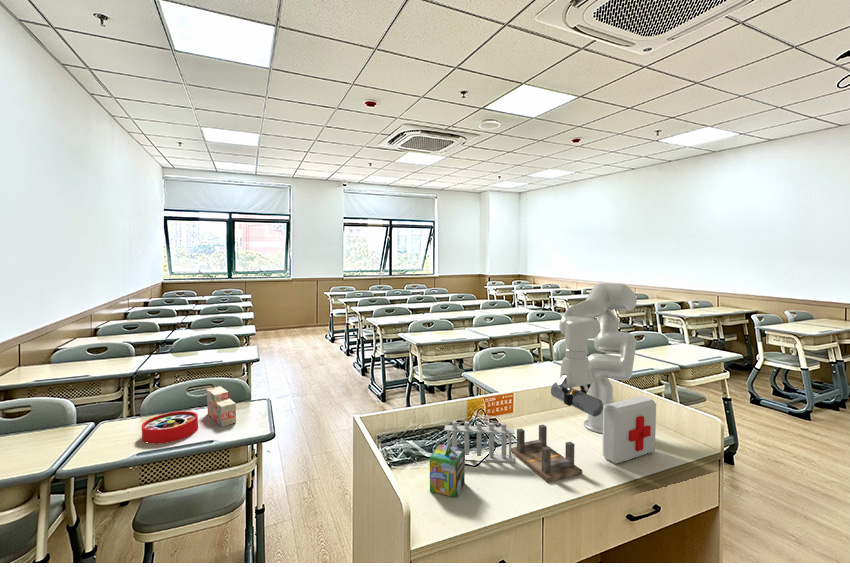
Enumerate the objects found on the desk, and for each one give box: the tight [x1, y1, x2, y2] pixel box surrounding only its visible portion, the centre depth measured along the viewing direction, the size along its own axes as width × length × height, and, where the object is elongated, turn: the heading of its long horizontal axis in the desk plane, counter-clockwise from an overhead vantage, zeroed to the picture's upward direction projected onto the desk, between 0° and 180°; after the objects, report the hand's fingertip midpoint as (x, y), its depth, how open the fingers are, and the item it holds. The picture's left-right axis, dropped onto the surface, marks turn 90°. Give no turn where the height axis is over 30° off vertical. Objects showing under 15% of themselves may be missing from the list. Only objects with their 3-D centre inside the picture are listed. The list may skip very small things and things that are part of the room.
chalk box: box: [429, 440, 466, 498], centre depth 125 cm, size 9×9×15 cm
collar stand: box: [511, 424, 583, 484], centre depth 140 cm, size 14×22×10 cm, turn 20°
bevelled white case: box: [601, 395, 657, 465], centre depth 143 cm, size 21×8×20 cm, turn 115°
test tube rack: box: [443, 420, 516, 464], centre depth 143 cm, size 25×4×13 cm, turn 83°
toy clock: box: [141, 410, 199, 445], centre depth 167 cm, size 20×6×20 cm
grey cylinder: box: [550, 381, 603, 416], centre depth 143 cm, size 6×20×6 cm, turn 20°
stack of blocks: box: [206, 386, 237, 428], centre depth 182 cm, size 21×6×12 cm, turn 44°
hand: (575, 403), depth 143 cm, fingers closed on grey cylinder, 6 cm apart
